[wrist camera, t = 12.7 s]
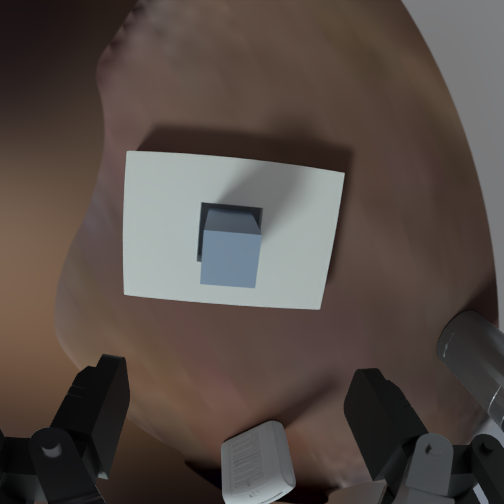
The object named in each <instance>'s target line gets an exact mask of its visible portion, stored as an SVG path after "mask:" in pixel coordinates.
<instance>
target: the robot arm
mask: <svg viewBox="0 0 504 504" xmlns="http://www.w3.org/2000/svg"><path fill="white" fill-rule="evenodd" d="M437 354H438V357H439V358H440V359H441V360H442V362H443V363H444V364H445V365H446V366H447V367H448V368H449V369H450V370H451V372H452V373H453V374H454V375H455V376H456V377H457V378H458V380H459V381H460V382H461V383H462V384H463V385H464V386H465V387H466V389H467V390H468V391H469V392H470V393H471V394H472V395H473V397H474V398H475V399H476V400H477V401H478V402H479V404H480V405H481V406H482V407H483V408H484V409H485V411H486V412H487V413H488V414H489V415H490V416H491V418H492V419H493V420H494V421H495V422H496V424H497V425H498V426H499V427H500V429H502V431H503V432H504V333H502V332H501V331H500V330H499V329H497V328H496V327H495V326H494V325H492V324H491V323H490V322H489V321H487V320H486V319H485V318H483V317H482V316H481V315H480V314H478V313H477V312H476V311H473V310H468V311H464V312H462V313H460V314H459V315H457V316H456V317H455V318H454V319H453V320H452V321H451V322H450V323H449V324H448V325H447V326H446V328H445V329H444V331H443V333H442V334H441V337H440V339H439V342H438V346H437ZM129 401H130V389H129V382H128V374H127V366H126V360H125V358H124V357H120V356H113V355H107V354H103V355H102V356H101V358H100V360H99V362H98V364H97V366H96V367H92V366H87V367H86V368H84V369H83V370H82V371H81V372H79V373H78V374H77V376H76V377H75V379H74V381H73V383H72V386H71V387H70V388H69V390H68V392H67V395H66V396H65V398H64V400H63V402H62V404H61V405H60V408H59V409H58V411H57V413H56V415H55V417H54V419H53V421H52V423H51V425H50V427H46V428H42V429H40V430H38V431H36V432H35V433H34V434H33V435H32V436H31V437H30V438H16V437H5V436H4V435H3V433H2V432H1V430H0V504H34V501H35V500H36V501H47V502H48V504H106V503H105V501H104V499H103V498H102V496H101V494H100V493H99V491H98V490H97V488H96V486H95V485H96V481H97V478H98V477H100V478H104V479H108V478H109V474H110V470H111V466H112V463H113V458H114V455H115V452H116V448H117V444H118V441H119V437H120V434H121V431H122V427H123V424H124V420H125V417H126V414H127V410H128V407H129ZM344 414H345V417H346V419H347V421H348V424H349V426H350V428H351V431H352V433H353V435H354V438H355V440H356V442H357V445H358V447H359V449H360V452H361V454H362V456H363V459H364V461H365V464H366V466H367V468H368V471H369V473H370V475H371V478H372V480H373V481H377V480H382V479H385V480H386V482H387V484H386V485H385V487H384V489H383V491H382V494H381V496H380V499H379V501H378V504H480V502H479V500H478V498H477V496H476V494H475V493H474V490H473V488H474V487H475V486H476V485H477V484H478V483H479V485H480V487H481V488H482V490H483V492H484V494H485V496H486V497H487V499H488V502H489V504H504V448H503V447H502V445H501V444H500V442H499V441H498V440H497V439H496V438H494V437H493V436H491V435H488V434H479V435H477V436H475V437H474V439H473V440H472V441H471V443H470V444H469V445H451V443H450V442H449V441H448V440H447V439H446V438H445V437H443V436H441V435H439V434H434V433H429V432H428V431H427V429H426V427H425V426H424V424H423V423H422V421H421V420H420V418H419V417H418V415H417V414H416V412H415V411H414V409H413V408H412V407H411V405H410V403H409V402H408V400H407V399H406V397H405V396H404V394H403V393H402V391H401V390H400V388H399V387H397V386H396V385H395V384H394V383H392V382H391V381H390V380H386V379H385V378H384V376H383V375H382V373H381V372H380V370H379V369H378V368H368V369H358V370H356V372H355V373H354V376H353V379H352V382H351V384H350V387H349V390H348V392H347V395H346V398H345V401H344Z"/></svg>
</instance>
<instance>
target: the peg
mask: <svg viewBox="0 0 504 504" xmlns="http://www.w3.org/2000/svg"><path fill="white" fill-rule="evenodd" d="M261 239H262V234H261V232H260V230H259V228H258V225H257V223H256V221H255V219H254V217H253V215H252V212H251V211H241V210H231V209H220V208H209V211H208V215H207V219H206V223H205V227H204V234H203V248H202V262H201V277H200V284H205V285H217V286H230V287H244V288H255V285H256V278H257V270H258V262H259V254H260V247H261Z"/></svg>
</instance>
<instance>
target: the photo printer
mask: <svg viewBox="0 0 504 504" xmlns="http://www.w3.org/2000/svg"><path fill="white" fill-rule="evenodd" d="M221 456H222V494H223V498H224V501H225V503H226V504H268V503H270V502H273V501H275V500H277V499H279V498H281V497H282V496H284V495H285V494H287V493H288V492H289V491H291V490H292V489H293V488H294V487H295V484H296V481H295V476H294V471H293V466H292V462H291V457H290V452H289V448H288V443H287V438H286V434H285V431H284V428H283V425H282V424H281V423H280V422H277V421H268V422H265V423H263V424H261V425H259V426H257V427H255V428H253V429H251V430H248V431H246V432H244V433H242V434H240V435H238V436H236V437H234V438H232V439H229V440H227V441H226V442H224V443H223V444H222V446H221Z"/></svg>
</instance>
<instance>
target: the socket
mask: <svg viewBox="0 0 504 504" xmlns="http://www.w3.org/2000/svg"><path fill="white" fill-rule="evenodd" d="M344 175H345V173H342V172H337V171H331V170H325V169H319V168H313V167H306V166H299V165H292V164H285V163H277V162H269V161H261V160H253V159H243V158H234V157H224V156H212V155H200V154H187V153H171V152H152V151H127V156H126V170H125V187H124V213H123V273H124V295H132V296H141V297H150V298H160V299H170V300H181V301H192V302H204V303H216V304H229V305H244V306H259V307H277V308H297V309H320V306H321V301H322V297H323V292H324V287H325V283H326V278H327V273H328V268H329V263H330V258H331V252H332V247H333V242H334V236H335V231H336V225H337V219H338V213H339V207H340V201H341V195H342V188H343V182H344ZM209 208H220V209H231V210H241V211H251V212H252V215H253V217H254V219H255V221H256V223H257V225H258V228H259V230H260V232H261V234H262V239H261V247H260V254H259V262H258V270H257V278H256V285H255V288H244V287H230V286H217V285H205V284H200V277H201V262H202V248H203V234H204V227H205V223H206V219H207V215H208V211H209Z"/></svg>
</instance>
